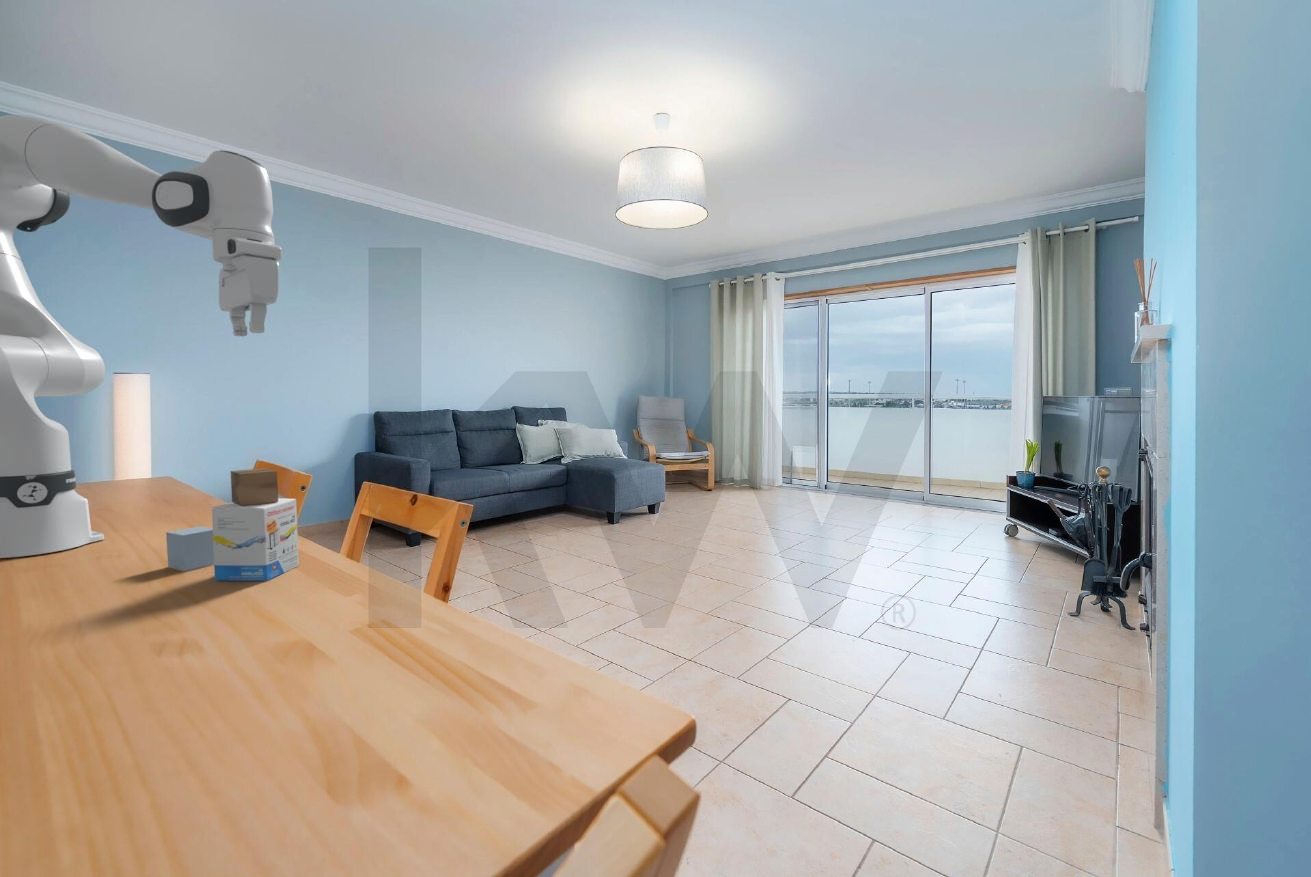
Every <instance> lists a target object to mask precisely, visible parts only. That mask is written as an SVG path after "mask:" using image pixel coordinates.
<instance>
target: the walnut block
mask: <svg viewBox="0 0 1311 877" xmlns="http://www.w3.org/2000/svg"><path fill="white" fill-rule="evenodd" d="M230 486H231V488H230V489H231V490H230V492H231V503H236V504H238V505H240V506H247V505H255V504H263V503H272V502H278V498H279V491H278V489H279V488H278V471H277V470H275V469H272V468H266V467H265V468H263V467H262V468H254V469H253V468H252V469H240V470H230Z"/></svg>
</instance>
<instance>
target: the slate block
mask: <svg viewBox="0 0 1311 877" xmlns="http://www.w3.org/2000/svg"><path fill="white" fill-rule="evenodd" d="M166 550H167V551H166V552H167V554H166V555H167V568H170V569H174V570H178V571H181V572H187V571H192V570H197V569H201V568H205V567H209V566H214V546H213V527H207V526H201V525H198V526H193V527H188V528H181V529H177V530H171V531H166Z"/></svg>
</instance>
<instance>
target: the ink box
mask: <svg viewBox="0 0 1311 877" xmlns="http://www.w3.org/2000/svg"><path fill="white" fill-rule="evenodd" d="M211 514H212V517H211V519H212V528H213V546H214V565H213V566H214V568H213V569H214V570H213V571H214V581H216V582H218V581H222V582H223V581H224V582H225V581H227V582H228V581H232V582H233V581H235V582H236V581H239V582H241V581H243V582H268V581H270V580H272V579H274V578H277V577H278V576H280V575H283V574H285V573H287V572H289V571H291V570H293V569H296V568H297V567H299V566H300V560H299V559H300V557H299V539H298V538H299V535H298V515H297V514H298V512H297V499H296V498H287V497H286V498H283V497H282V498H280V497H278V502H272V503H263V504H255V505H247V506H240V505H238V504H236V503H233V502H229V503H225V504H220V505H216V506H212V510H211Z"/></svg>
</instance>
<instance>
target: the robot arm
mask: <svg viewBox="0 0 1311 877" xmlns="http://www.w3.org/2000/svg"><path fill="white" fill-rule="evenodd" d="M70 195H72V196H77V197H81V198H86V199H90V200H91V199H92V200H97V201H104V202H109V203H115V204H120V205H125V206H131V207H138V208H142V209H147V210H152V211H154V212H155V215H156V217H158V219H159V220H160V221H161V222H162V223H164V224H165V225H167V226H169V227H171V228H173V229H175V230H177V231H178V230H179V231H180V232H184V233H187V234H190V235H194V236H196V237H200V238H203V239H205V240H211V241H212V242H211V245H212V246H211V247H212V259H213V261H215V262H216V263H219V264H222V268H221V269H219V270H220V271H219V274H218V275H219V276H218V303H219V308H220V310H221V311H222V312H228V313H229V319H230V322H231V325H232V334H233V336H235V337H246V336H248V326H247V324H246V317H247V315H246V312H248V311H250V318H249V319H250V321H248V325H249V332H250V333H253V334H262V333H264V332H265V321H266V316H267V313H268V310H267V308H268V307H267V306H270V305H272V304H276V303H277V300H278V297H279V292H280V290H279V289H280V288H279V287H280V286H279V285H280V265H279V262H280V261H281V260H282V258H283V251H282V246H280V245H277V244H276V243H275V235H274V232H273V229H272V220H273V216H274V201H273V190H272V183H271V180H270V176H269V174H268V171H267V169H266V168H265V167H264V166H263V165H262V164H261V163H260V162H258V161H256V160H254V159H253V158H250V157H247V156H246V155H242V154H240V153H238V152H233V151H229V150H214V151H212V152H211V154H210V155H209V156H208V158H207V159H206V160H205V161H203V162H202V163H200V164H198V165H196V166H193V167H191V168H188V169H185V170H181V171H175V170H174V171H169V172H167V173H164V174H161V173H159V172H157V171H155V170H153V169H151V168H149V167H147V166H146V165H145V164H142V163H140V162H139V161H137V160H135V159H133V158H132V157H130V156H128V155H126V154H124V153H123V152H120V151H119V150H117V149H116V148H114V147H112V146H110V145H108V144H107V143H104V142H103V141H101V140H99V139H98V138H95V137H93V136H92V135H89V134H87V133H85V132H83V131H81V130H78V129H77V128H73V127H70V126H68V125H66V124H63V123H59V122H55V121H52V120H47V119H43V118H39V117H35V116H30V115H29V116H28V115H19V114H7V115H5V114H4V115H2V116H0V559H6V558H19V557H26V556H27V557H28V556H35V555H42V554H48V553H55V552H59V551H65V550H66V551H67V550H70V549H73V548H76V547H80V546H81V547H82V546H84V545H87V544H90V543H94V542H98V541H103V540H105V536H104V533H101V532H98V531H94V530H92V527H91V519H90V510H89V501H88V498H85V497H84V496H82V495H80V494H79V493H78V492H77V491H76V490H75V489H76V488H77V483H76V481H77V476H76V475H75V474H76V473H75V470H74V469H72V460H71V459H72V458H71V448H70V446H71V445H70V435H69V432H68V430H67V428H66V427H65V426H64V425H62V424H61V423H59V422H58V421H55V420H53V419H51V418H48V417H46V415H44V414H43V412H41V410H40V408H39V407H38V405H37V402H36V400H35V399H36V398H37V397H38V398H42V397H43V398H45V397H47V398H48V397H52V398H55V397H57V398H59V397H60V398H61V397H69V396H76V395H81V394H85V393H89V392H93V391H95V390H96V389H97V388H98V387H99V386H100V385H101V384H102V383H103V381H104V379H105V375H106V365H105V361H104V360H103V358H102V356H101V355H100V353H99V352H98V351H97V350H96V349H94V348H93V347H91V346H89V345H87V344H85V343H83V342H82V341H80V340H79V339H78V338H76V337H74V336H73V335H72V334H71V333H70V332H68V331H67V330H66V329H65V328H64V327H63V326H62V325H61V324H60V323H58V321H57V320H56V319H55V318H54V317H53V316H52V315H51V313H50V312H49V311H48V310H47V309H46V308H45V306H44V304H43V303H42V302H41V301H40V298H39V296H38V295H37V293H36V290H35V289H34V286H33V285H32V282H31V280H30V277H29V275H28V273H27V270H26V268H25V266H24V263H23V262H22V259H21V256H20V255H19V252H18V249H17V247H16V245H15V242H14V235H13V234H14V231H15V230H16V229H17V230H18V231H22V232H26V233H32V232H37V230H39V228H41V227H44V226H48V225H52V224H54V223H56V222H57V221H58V220H60V219H61V218H63V217H64V216H65V215H66V214H67V212H68V210H70V209H69V208H70V206H71V205H70V204H71V198H70Z"/></svg>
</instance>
